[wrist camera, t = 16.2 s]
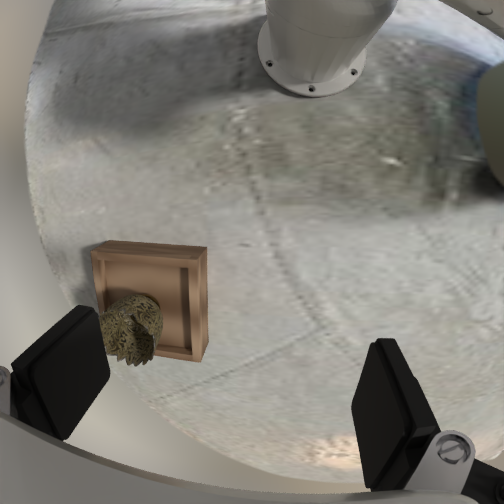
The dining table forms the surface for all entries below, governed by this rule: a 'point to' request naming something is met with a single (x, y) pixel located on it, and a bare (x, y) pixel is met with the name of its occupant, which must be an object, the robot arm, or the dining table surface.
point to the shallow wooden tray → (159, 289)
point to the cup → (132, 328)
